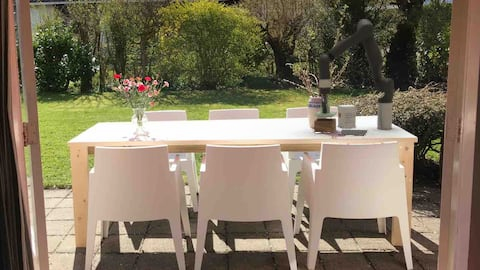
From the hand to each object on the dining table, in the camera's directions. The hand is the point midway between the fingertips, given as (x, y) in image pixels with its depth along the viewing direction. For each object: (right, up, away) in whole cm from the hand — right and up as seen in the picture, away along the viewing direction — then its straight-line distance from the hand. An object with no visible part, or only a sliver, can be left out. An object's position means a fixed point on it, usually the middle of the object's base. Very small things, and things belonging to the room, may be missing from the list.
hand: (325, 112), depth 329 cm
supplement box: (+17, -9, +17) cm, 26 cm away
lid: (0, -2, 0) cm, 2 cm away
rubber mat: (+17, -13, -6) cm, 22 cm away
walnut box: (0, -12, +2) cm, 12 cm away
